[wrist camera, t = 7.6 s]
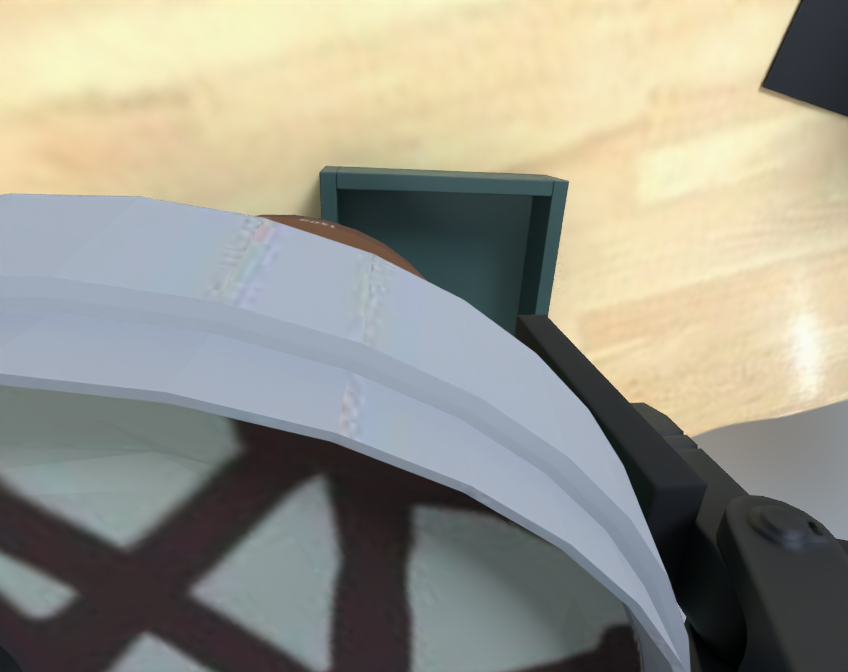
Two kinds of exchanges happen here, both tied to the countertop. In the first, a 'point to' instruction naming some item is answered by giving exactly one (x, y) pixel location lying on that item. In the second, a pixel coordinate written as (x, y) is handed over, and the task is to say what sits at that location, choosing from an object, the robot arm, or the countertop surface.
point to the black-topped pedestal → (815, 56)
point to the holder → (460, 230)
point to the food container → (294, 462)
